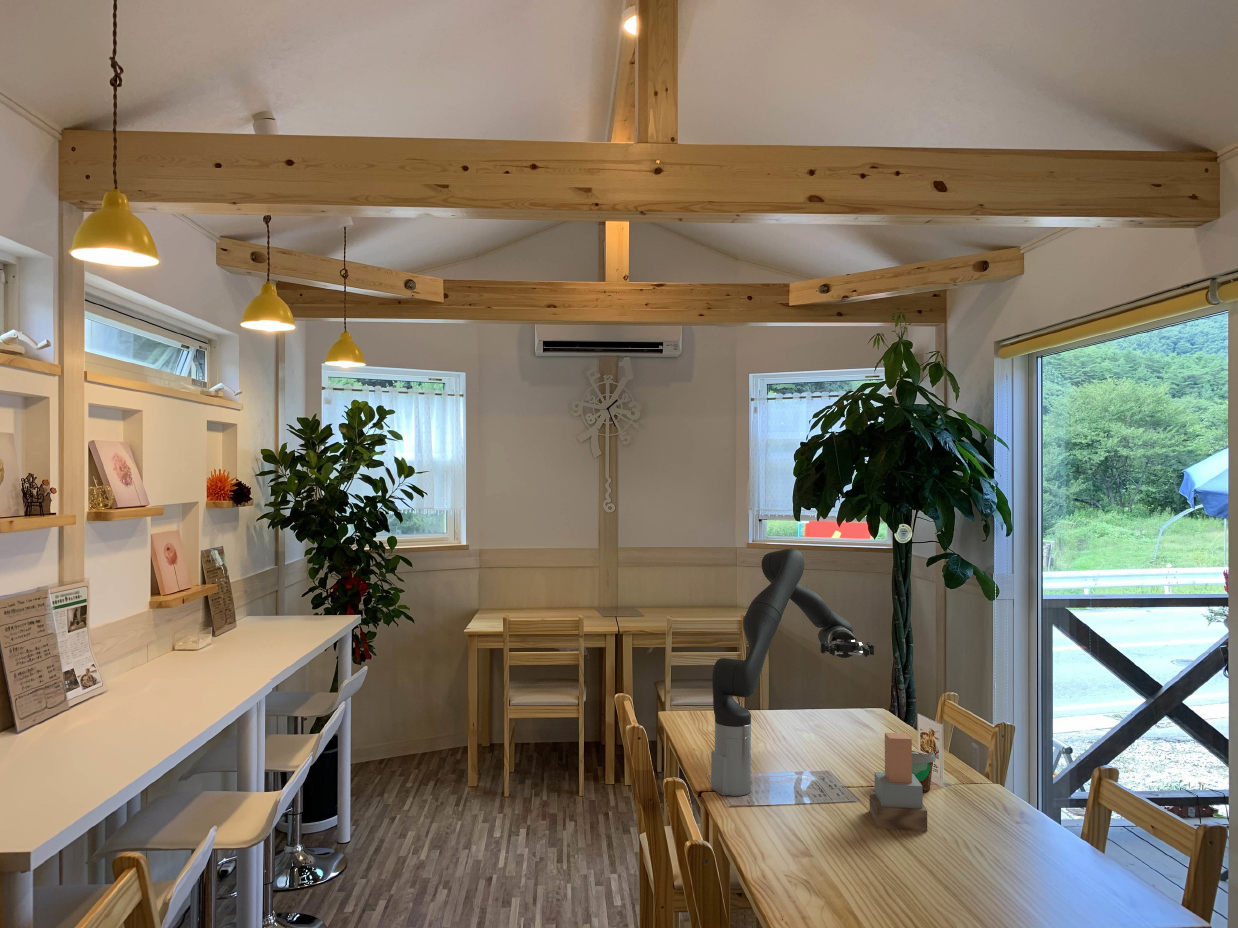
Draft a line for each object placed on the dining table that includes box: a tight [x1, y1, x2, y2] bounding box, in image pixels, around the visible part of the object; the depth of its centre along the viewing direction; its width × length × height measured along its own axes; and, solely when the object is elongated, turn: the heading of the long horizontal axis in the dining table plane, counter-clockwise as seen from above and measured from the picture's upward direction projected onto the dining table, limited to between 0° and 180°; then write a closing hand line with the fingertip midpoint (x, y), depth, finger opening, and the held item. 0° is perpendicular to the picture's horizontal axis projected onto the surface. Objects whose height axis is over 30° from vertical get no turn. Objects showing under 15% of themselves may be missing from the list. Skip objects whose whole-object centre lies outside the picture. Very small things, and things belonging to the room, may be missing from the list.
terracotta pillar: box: [884, 732, 913, 783], centre depth 201 cm, size 5×5×10 cm
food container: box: [912, 750, 936, 794], centre depth 222 cm, size 12×6×10 cm, turn 62°
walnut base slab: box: [869, 791, 928, 832], centre depth 201 cm, size 11×11×5 cm
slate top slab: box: [874, 771, 924, 808], centre depth 201 cm, size 9×9×5 cm
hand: (849, 652), depth 230 cm, fingers open, 8 cm apart
